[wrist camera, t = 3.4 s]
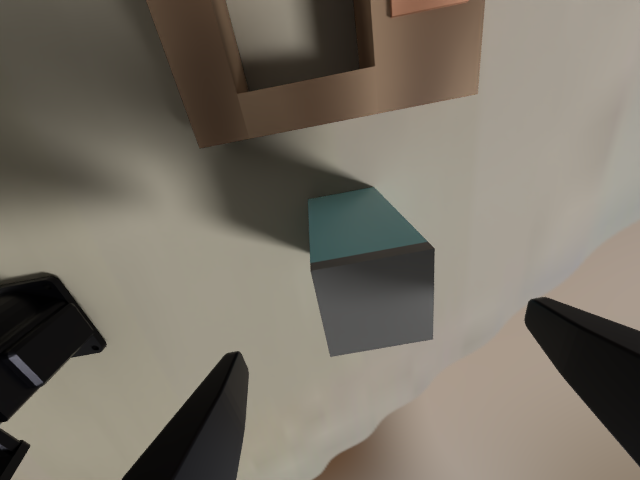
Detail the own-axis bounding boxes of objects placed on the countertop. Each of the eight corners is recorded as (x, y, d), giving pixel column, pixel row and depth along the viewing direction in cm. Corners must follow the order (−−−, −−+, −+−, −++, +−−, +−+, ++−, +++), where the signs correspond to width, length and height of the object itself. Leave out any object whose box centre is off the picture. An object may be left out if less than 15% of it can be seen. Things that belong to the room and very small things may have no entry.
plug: (319, 256, 17) (330, 356, 10) (307, 199, 16) (310, 271, 8) (379, 245, 17) (432, 339, 10) (373, 186, 15) (434, 248, 8)
